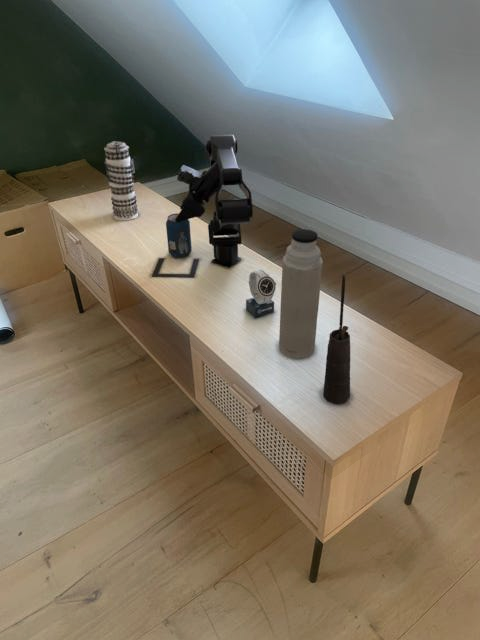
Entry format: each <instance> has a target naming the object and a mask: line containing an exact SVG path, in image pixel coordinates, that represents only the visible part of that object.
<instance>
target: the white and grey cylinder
mask: <svg viewBox="0 0 480 640" xmlns="http://www.w3.org/2000/svg"><path fill="white" fill-rule="evenodd" d="M129 149H130V146H128V145H127V144H126V142H124V141H119V140H116V141H111V142H108V143H107V144H106V146H105V147H104V148H103V150H104V154H105V160H104V162H103V164H104V166H105V167H104V169H105V170H106V173H105V174H106V175H107V177H106V178H107V180H108V181H107V182H108V185H109V187H110V191H111V192H110V196H111V197H110V200H111V205H112V207H111V208H112V210H113V211H112V213H113V218H114V219H116V220H118V221H130V220H131V221H132V220H134V219H136V218H138V216H139V213H138V212H139V209H138V205H137V202H138V201H137V199H136V198H137V195H136V191H135V189H134V184H135V183H134V182H135V179H134V177H135V175H134V174H132V173H134V169H133V168H134V165H133V164H131V161H132V158H131V156H130V152H129Z"/></svg>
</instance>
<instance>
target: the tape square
mask: <svg viewBox="0 0 480 640" xmlns="http://www.w3.org/2000/svg"><path fill="white" fill-rule="evenodd" d="M164 259H165V258H164V257H158V259H157V262H156V264H155V266H154V269H153V272H152V275H151V277H152V278H195V276H196V272H197V268H198V265H199V260H200V259H199V258H193V261H192V264H191V268H190V271H189V273H160V270H161V268H162V265H163V263H164Z"/></svg>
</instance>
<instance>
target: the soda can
mask: <svg viewBox="0 0 480 640" xmlns="http://www.w3.org/2000/svg"><path fill="white" fill-rule="evenodd" d="M179 213H180V212H178V213H171V214H168V216H167V217H166V218H167V219H166V222H165V228H166V229H165V230H166V238H167V249H168V253H169V255H170V256H171V257H172V258H174V259H186V258H187V257H189V256H190V255H191V253H192V237H191V222H190V219H187V220H184V221H181V222H178V223H177V222H176V221H175V219H176V217H177V216H178V214H179Z"/></svg>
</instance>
